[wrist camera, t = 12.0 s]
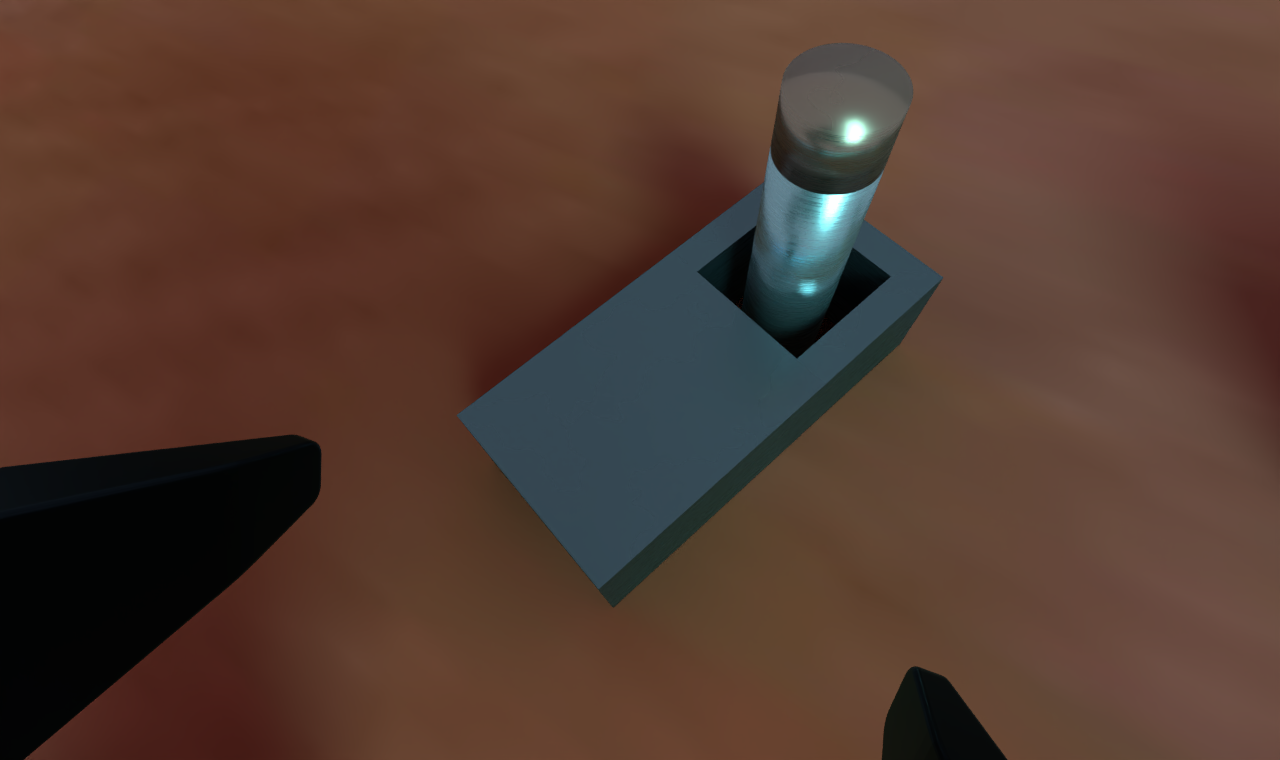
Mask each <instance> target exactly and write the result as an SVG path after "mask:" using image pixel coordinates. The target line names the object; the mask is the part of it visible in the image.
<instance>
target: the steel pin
mask: <svg viewBox="0 0 1280 760" xmlns="http://www.w3.org/2000/svg"><path fill="white" fill-rule="evenodd" d="M912 98H913V86H912V82H911V79H910V77H909V75H908V73H907V72H906V70H905V69H904V68H903V67H902V66H901V65H900V64H899V63H898V62H897V61H896V60H895V59H893V58H892V57H890V56H889V55H887V54H885V53H883V52H881V51H879V50H876V49H874V48H871V47H867V46H863V45H859V44H851V43H834V44H826V45H822V46H818V47H815V48H812V49H809V50H807V51H805V52H803V53H802V54H800V55H799V56H797V57H796V58H795V59H794V60H793V61H792V62H791V63H790V64H789V65H788V67H787V68H786V70H785V72H784V75H783V79H782V84H781V90H780V96H779V101H778V107H777V112H776V118H775V124H774V129H773V135H772V140H771V146H770V152H769V157H768V163H767V169H766V174H765V180H764V185H763V191H762V197H761V202H760V208H759V213H758V219H757V225H756V230H755V236H754V242H753V247H752V253H751V258H750V264H749V270H748V275H747V281H746V287H745V292H744V298H743V303H742V309H741V311H743V312H744V313H745V314H746V315H747V316H748V317H749V318H751V319H752V320H753V321H754V322H755V323H756V324H757V325H759V326H760V327H761V328H762V329H763V330H764V331H765V332H767V333H768V334H769V335H770V336H771V337H772V338H773V339H775V340H776V341H777V342H778V343H779V344H780V345H782V346H783V347H784V348H785V349H786V350H787V351H788V352H790V353H791V354H792V355H793V356H794V357H795V358H796V359H797V358H799V357H800V356H801V355H802V354H803V353H804V352H805V351H807V350H808V349H809V348H810V347H811V346H812V345H813V344H814V342H815V339H816V337H817V334H818V332H819V329H820V327H821V324H822V322H823V320H824V317H825V315H826V312H827V310H828V307H829V305H830V302H831V300H832V297H833V295H834V292H835V290H836V287H837V285H838V282H839V280H840V277H841V275H842V272H843V270H844V267H845V265H846V263H847V260H848V258H849V255H850V253H851V250H852V248H853V245H854V243H855V240H856V238H857V235H858V233H859V230H860V228H861V225H862V223H863V220H864V218H865V215H866V213H867V211H868V208H869V206H870V203H871V201H872V198H873V196H874V193H875V191H876V188H877V186H878V183H879V181H880V178H881V176H882V173H883V171H884V168H885V166H886V163H887V161H888V158H889V156H890V154H891V151H892V149H893V146H894V144H895V141H896V139H897V136H898V134H899V131H900V129H901V126H902V124H903V121H904V119H905V116H906V114H907V111H908V109H909V106H910V104H911V101H912Z"/></svg>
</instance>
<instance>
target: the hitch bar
mask: <svg viewBox="0 0 1280 760" xmlns="http://www.w3.org/2000/svg"><path fill="white" fill-rule="evenodd" d="M763 185H764V183H762V184H761V185H760V186H758V187H757V188H756V189H754V190H753V191H752V192H750V193H749V194H748V195H746V196H745V197H744V198H742V199H741V200H740V201H738V202H737V203H736V204H735V205H733V206H732V207H731V208H729V209H728V210H727V211H725V212H724V213H723V214H721V215H720V216H719V217H717V218H716V219H715V220H713V221H712V222H711V223H709V224H708V225H707V226H706V227H704V228H703V229H702V230H700V231H699V232H698V233H696V234H695V235H694V236H692V237H691V238H690V239H688V240H687V241H686V242H684V243H683V244H682V245H680V246H679V247H678V248H677V249H675V250H674V251H673V252H671V253H670V254H669V255H667V256H666V257H665V258H663V259H662V260H661V261H659V262H658V263H657V264H655V265H654V266H653V267H651V268H650V269H649V270H648V271H646V272H645V273H644V274H642V275H641V276H640V277H638V278H637V279H636V280H634V281H633V282H632V283H630V284H629V285H628V286H626V287H625V288H624V289H622V290H621V291H620V292H619V293H617V294H616V295H615V296H613V297H612V298H611V299H609V300H608V301H607V302H605V303H604V304H603V305H601V306H600V307H599V308H597V309H596V310H595V311H593V312H592V313H591V314H589V315H588V316H587V317H586V318H584V319H583V320H582V321H580V322H579V323H578V324H576V325H575V326H574V327H572V328H571V329H570V330H568V331H567V332H566V333H564V334H563V335H562V336H560V337H559V338H558V339H557V340H555V341H554V342H553V343H551V344H550V345H549V346H547V347H546V348H545V349H543V350H542V351H541V352H539V353H538V354H537V355H535V356H534V357H533V358H531V359H530V360H529V361H528V362H526V363H525V364H524V365H522V366H521V367H520V368H518V369H517V370H516V371H514V372H513V373H512V374H510V375H509V376H508V377H506V378H505V379H504V380H502V381H501V382H500V383H499V384H497V385H496V386H495V387H493V388H492V389H491V390H489V391H488V392H487V393H485V394H484V395H483V396H481V397H480V398H479V399H477V400H476V401H475V402H473V403H472V404H471V405H470V406H468V407H467V408H466V409H464V410H463V411H462V412H460V413H459V414H458V415H457V416H458V418H459V419H460V420H461V421H462V423H463V424H464V425H465V426H466V428H467V429H468V430H469V431H470V433H471V434H472V435H473V436H474V438H475V439H476V440H477V441H478V443H479V444H480V445H481V446H482V448H483V449H484V450H485V451H486V453H487V454H488V455H489V456H490V458H491V459H492V460H493V461H494V463H495V464H496V465H497V466H498V467H499V469H500V470H501V471H502V472H503V474H504V475H505V476H506V477H507V478H508V480H509V481H510V482H511V483H512V485H513V486H514V487H515V488H516V489H517V491H518V492H519V493H520V494H521V496H522V497H523V498H524V499H525V501H526V502H527V503H528V504H529V505H530V507H531V508H532V509H533V510H534V512H535V513H536V514H537V515H538V516H539V518H540V519H541V520H542V521H543V523H544V524H545V525H546V526H547V527H548V529H549V530H550V531H551V532H552V534H553V535H554V536H555V537H556V539H557V540H558V541H559V542H560V543H561V545H562V546H563V547H564V548H565V550H566V551H567V552H568V553H569V554H570V556H571V557H572V558H573V559H574V561H575V562H576V563H577V564H578V565H579V567H580V568H581V569H582V570H583V572H584V573H585V574H586V575H587V577H588V578H589V579H590V580H591V581H592V583H593V584H594V585H595V586H596V588H597V589H598V590H599V591H600V592H601V594H602V595H603V596H604V597H605V599H606V600H607V601H608V602H609V603H610V605H611V606H612V607H613V608H614V607H615V606H616V605H617V604H618V603H619V602H620V601H621V600H622V599H623V598H624V597H625V596H627V595H628V594H629V593H630V592H631V591H632V590H633V589H634V588H635V587H636V586H637V585H639V584H640V583H641V582H642V581H643V580H644V579H645V578H646V577H647V576H648V575H649V574H650V573H652V572H653V571H654V570H655V569H656V568H657V567H658V566H659V565H660V564H661V563H662V562H663V561H665V560H666V559H667V558H668V557H669V556H670V555H671V554H672V553H673V552H674V551H675V550H677V549H678V548H679V547H680V546H681V545H682V544H683V543H684V542H685V541H686V540H687V539H688V538H690V537H691V536H692V535H693V534H694V533H695V532H696V531H697V530H698V529H699V528H700V527H701V526H703V525H704V524H705V523H706V522H707V521H708V520H709V519H710V518H711V517H712V516H713V515H715V514H716V513H717V512H718V511H719V510H720V509H721V508H722V507H723V506H724V505H725V504H726V503H728V502H729V501H730V500H731V499H732V498H733V497H734V496H735V495H736V494H737V493H738V492H739V491H741V490H742V489H743V488H744V487H745V486H746V485H747V484H748V483H749V482H750V481H751V480H753V479H754V478H755V477H756V476H757V475H758V474H759V473H760V472H761V471H762V470H763V469H764V468H766V467H767V466H768V465H769V464H770V463H771V462H772V461H773V460H774V459H775V458H776V457H777V456H779V455H780V454H781V453H782V452H783V451H784V450H785V449H786V448H787V447H788V446H789V445H791V444H792V443H793V442H794V441H795V440H796V439H797V438H798V437H799V436H800V435H801V434H802V433H804V432H805V431H806V430H807V429H808V428H809V427H810V426H811V425H812V424H813V423H814V422H815V421H817V420H818V419H819V418H820V417H821V416H822V415H823V414H824V413H825V412H826V411H827V410H829V409H830V408H831V407H832V406H833V405H834V404H835V403H836V402H837V401H838V400H839V399H840V398H842V397H843V396H844V395H845V394H846V393H847V392H848V391H849V390H850V389H851V388H852V387H853V386H855V385H856V384H857V383H858V382H859V381H860V380H861V379H862V378H863V377H864V376H865V375H867V374H868V373H869V372H870V371H871V370H872V369H873V368H874V367H875V366H876V365H877V364H878V363H880V362H881V361H882V360H883V359H884V358H885V357H886V356H887V355H888V354H889V353H890V352H891V351H893V350H894V349H895V348H896V347H897V346H898V345H899V344H900V343H901V342H902V340H903V339H904V337H905V336H906V334H907V332H908V331H909V329H910V328H911V326H912V325H913V323H914V322H915V320H916V319H917V317H918V316H919V314H920V313H921V311H922V310H923V308H924V306H925V305H926V303H927V302H928V300H929V299H930V297H931V296H932V294H933V293H934V291H935V290H936V288H937V287H938V285H939V284H940V282H941V280H942V279H943V277H942V276H940V275H939V274H938V273H936V272H935V271H933V270H932V269H931V268H929V267H928V266H927V265H925V264H924V263H922V262H921V261H920V260H918V259H917V258H916V257H914V256H913V255H912V254H910V253H909V252H907V251H906V250H905V249H903V248H902V247H901V246H899V245H898V244H896V243H895V242H894V241H892V240H891V239H890V238H888V237H887V236H886V235H884V234H883V233H881V232H880V231H879V230H877V229H876V228H875V227H873V226H872V225H870V224H869V223H868V222H866V221H865V220H863V223H862V225H861V228H860V230H859V233H858V235H857V238H856V240H855V243H854V245H853V248H852V250H851V253H850V255H849V258H848V260H847V263H846V265H845V267H844V270H843V272H842V275H841V277H840V280H839V282H838V285H837V287H836V290H835V292H834V295H833V297H832V300H831V302H830V305H829V307H828V310H827V312H826V315H825V316H826V317H827V318H828V319H830V320H831V321H832V322H833V323H834V324H836V325H835V326H834V327H833V328H832V329H831V330H829V331H828V332H827V333H826V334H825V335H824V336H823V337H821V338H820V339H819V340H818V341H817V342H816V343H815V344H813V345H812V346H811V347H810V348H809V349H808V350H807V351H805V352H804V353H803V354H802V355H801V356H800V357H799V358H797V359H796V358H795V357H794V356H793V355H792V354H791V353H790V352H788V351H787V350H786V349H785V348H784V347H783V346H782V345H780V344H779V343H778V342H777V341H776V340H775V339H773V338H772V337H771V336H770V335H769V334H768V333H767V332H765V331H764V330H763V329H762V328H761V327H760V326H759V325H757V324H756V323H755V322H754V321H753V320H752V319H751V318H749V317H748V316H747V315H746V314H745V313H744V312H743V311H741V310H740V309H739V308H738V307H737V306H736V305H734V303H735V302H737V301H738V300H739V299H740V298H742V297H743V296H744V292H745V287H746V281H747V275H748V270H749V264H750V258H751V253H752V247H753V242H754V236H755V230H756V225H757V219H758V213H759V208H760V202H761V197H762V191H763Z"/></svg>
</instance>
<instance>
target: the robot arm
mask: <svg viewBox="0 0 1280 760" xmlns="http://www.w3.org/2000/svg"><path fill="white" fill-rule="evenodd" d="M320 487H321V449H320V446H319V445H318V444H317V443H316V442H315V441H312V440H309V439H307V438H304V437H301V436H298V435H284V436H275V437H266V438H257V439H248V440H239V441H231V442H222V443H213V444H204V445H195V446H186V447H178V448H169V449H160V450H151V451H142V452H133V453H124V454H116V455H107V456H98V457H89V458H80V459H71V460H63V461H54V462H45V463H36V464H27V465H18V466H10V467H2V468H0V760H24V759H25V758H26V757H27V756H29V755H30V754H31V753H32V752H33V751H35V750H36V749H37V748H38V747H39V746H40V745H42V744H43V743H44V742H45V741H46V740H48V739H49V738H50V737H51V736H52V735H53V734H55V733H56V732H57V731H58V730H59V729H61V728H62V727H63V726H64V725H65V724H67V723H68V722H69V721H70V720H71V719H72V718H74V717H75V716H76V715H77V714H78V713H80V712H81V711H82V710H83V709H84V708H85V707H87V706H88V705H89V704H90V703H91V702H93V701H94V700H95V699H96V698H97V697H99V696H100V695H101V694H102V693H103V692H104V691H106V690H107V689H108V688H109V687H110V686H112V685H113V684H114V683H115V682H116V681H117V680H119V679H120V678H121V677H122V676H123V675H125V674H126V673H127V672H128V671H129V670H131V669H132V668H133V667H134V666H135V665H136V664H138V663H139V662H140V661H141V660H142V659H144V658H145V657H146V656H147V655H148V654H149V653H151V652H152V651H153V650H154V649H155V648H157V647H158V646H159V645H160V644H161V643H163V642H164V641H165V640H166V639H167V638H168V637H170V636H171V635H172V634H173V633H174V632H176V631H177V630H178V629H179V628H180V627H181V626H183V625H184V624H185V623H186V622H187V621H189V620H190V619H191V618H192V617H193V616H195V615H196V614H197V613H198V612H199V611H200V610H202V609H203V608H204V607H205V606H206V605H208V604H209V603H210V602H211V601H212V600H213V599H215V598H216V597H217V596H218V595H219V594H221V593H222V592H223V591H224V590H225V589H227V588H228V587H229V586H230V585H231V584H232V583H233V582H235V581H236V580H237V579H238V578H239V577H240V576H241V575H242V574H243V573H244V572H246V571H247V570H248V569H249V568H250V567H251V566H252V565H253V564H254V563H255V562H256V561H257V560H258V559H259V558H260V557H261V556H262V555H263V554H264V553H265V552H266V551H267V550H268V549H269V548H270V547H271V546H272V545H273V544H274V543H275V542H276V541H277V540H278V539H279V538H280V537H281V536H282V535H283V534H284V533H285V532H286V531H287V530H288V529H289V528H290V527H291V526H292V525H293V524H294V523H295V522H296V521H297V520H298V518H299V517H300V516H301V515H302V514H303V513H304V512H305V511H306V510H307V509H308V508H309V507H310V506H311V505H312V504H313V503H314V502H315V500H316V499H317V497H318V495H319V492H320ZM882 760H1007V758H1006V757H1005V756H1004V754H1003V753H1002V752H1001V750H1000V749H999V748H998V746H997V745H996V744H995V742H994V741H993V740H992V738H991V737H990V736H989V734H988V733H987V732H986V730H985V729H984V727H983V726H982V725H981V723H980V722H979V721H978V719H977V718H976V717H975V715H974V714H973V713H972V711H971V710H970V709H969V707H968V706H967V705H966V703H965V702H964V700H963V699H962V698H961V696H960V695H959V694H958V692H957V691H956V690H955V688H954V687H953V686H952V684H951V683H950V682H949V681H948V680H947V679H946V678H945V677H944V676H942V675H939V674H936V673H934V672H931V671H928V670H926V669H923V668H920V667H917V666H914V667H911V668H910V669H909V670H908V671H907V673H906V675H905V677H904V679H903V681H902V683H901V685H900V687H899V689H898V692H897V694H896V696H895V698H894V700H893V702H892V704H891V707H890V709H889V711H888V714H887V717H886V721H885V726H884V735H883V750H882Z"/></svg>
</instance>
